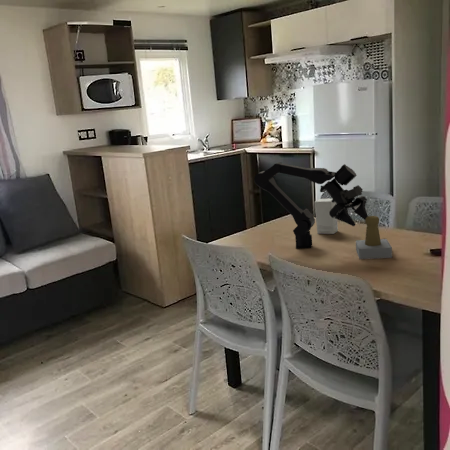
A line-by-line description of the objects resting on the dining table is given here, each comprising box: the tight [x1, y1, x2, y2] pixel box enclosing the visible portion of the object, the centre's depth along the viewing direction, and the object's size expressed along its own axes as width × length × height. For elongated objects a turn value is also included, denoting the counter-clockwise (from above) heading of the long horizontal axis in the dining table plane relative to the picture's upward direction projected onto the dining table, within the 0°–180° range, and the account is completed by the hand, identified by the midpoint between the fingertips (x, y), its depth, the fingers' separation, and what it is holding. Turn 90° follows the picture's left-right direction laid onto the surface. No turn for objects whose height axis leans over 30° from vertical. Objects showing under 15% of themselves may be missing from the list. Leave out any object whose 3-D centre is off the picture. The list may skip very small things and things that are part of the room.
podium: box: [355, 238, 393, 260], centre depth 193 cm, size 12×12×4 cm
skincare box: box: [314, 198, 339, 235], centre depth 228 cm, size 8×7×16 cm
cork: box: [364, 215, 381, 246], centre depth 191 cm, size 6×6×11 cm
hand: (361, 223), depth 194 cm, fingers open, 9 cm apart
